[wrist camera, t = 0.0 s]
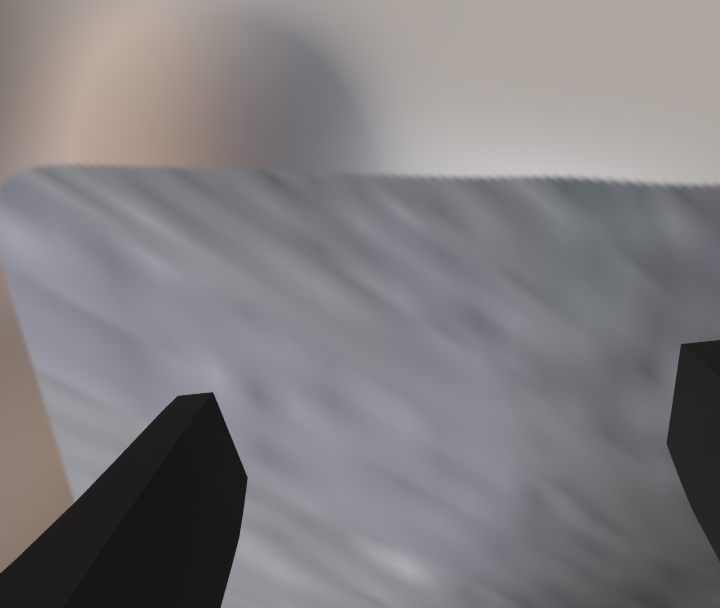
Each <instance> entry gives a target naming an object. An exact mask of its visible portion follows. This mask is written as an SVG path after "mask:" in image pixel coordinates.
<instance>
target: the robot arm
mask: <svg viewBox="0 0 720 608" xmlns="http://www.w3.org/2000/svg"><path fill="white" fill-rule="evenodd" d="M667 446H668V449H669V451H670V454H671V457H672V459H673V462H674V465H675V467H676V470H677V473H678V475H679V478H680V481H681V483H682V486H683V488H684V491H685V493H686V496H687V498H688V501H689V503H690V506H691V508H692V510H693V512H694V514H695V515H696V517H697V519H698V521H699V523H700V525H701V527H702V529H703V531H704V533H705V534H706V536H707V538H708V540H709V542H710V544H711V546H712V548H713V549H714V551H715V553H716V555H717V557H718V559H719V561H720V340H717V341H707V342H698V343H688V344H681V349H680V356H679V363H678V370H677V376H676V383H675V390H674V397H673V404H672V411H671V417H670V424H669V431H668V438H667ZM246 486H247V475H246V473H245V470H244V468H243V465H242V463H241V460H240V458H239V455H238V453H237V450H236V448H235V445H234V443H233V440H232V438H231V436H230V433H229V431H228V428H227V426H226V423H225V421H224V418H223V416H222V413H221V411H220V408H219V406H218V403H217V401H216V398H215V396H214V393H213V392H211V393H201V394H192V395H182V396H177V397H176V398H175V399H174V400H173V401H172V402H171V403H170V404H169V405H168V406H167V407H166V408H165V409H164V410H163V411H162V412H161V413H160V414H159V415H158V416H157V417H156V418H155V419H154V420H153V421H152V422H151V424H150V425H149V426H148V427H147V428H146V429H145V430H144V431H143V432H142V433H141V434H140V435H139V436H138V437H137V438H136V439H135V440H134V442H133V443H132V444H131V445H130V446H129V447H128V448H127V449H126V450H125V451H124V452H123V453H122V454H121V455H120V456H119V457H118V458H117V459H116V460H115V462H114V463H113V464H112V465H111V466H110V467H109V468H108V469H107V470H106V471H105V472H104V473H103V474H102V475H101V476H100V477H99V478H98V479H97V480H96V481H95V482H94V483H93V484H92V485H91V486H90V488H89V489H88V490H87V491H86V492H85V493H84V494H83V495H82V496H81V497H80V498H79V499H78V500H77V501H76V502H75V503H74V504H73V505H72V506H71V507H70V508H69V509H68V510H67V511H66V512H65V513H63V514H62V515H61V517H59V518H58V519H57V520H56V521H55V522H54V523H53V524H52V525H51V526H50V527H49V528H48V529H47V530H46V531H45V532H44V533H43V534H42V535H41V536H40V537H39V538H38V539H37V540H36V541H35V542H33V543H32V544H31V545H30V546H29V547H28V548H27V549H26V550H25V551H24V552H23V553H22V554H21V555H20V556H19V557H18V558H17V559H16V560H15V561H14V562H12V563H11V564H10V565H9V566H8V567H7V568H6V569H5V570H4V571H3V572H1V573H0V608H220V607H221V604H222V600H223V597H224V593H225V589H226V586H227V582H228V578H229V574H230V571H231V567H232V563H233V559H234V556H235V552H236V548H237V544H238V540H239V536H240V529H241V523H242V516H243V510H244V502H245V494H246Z"/></svg>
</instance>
